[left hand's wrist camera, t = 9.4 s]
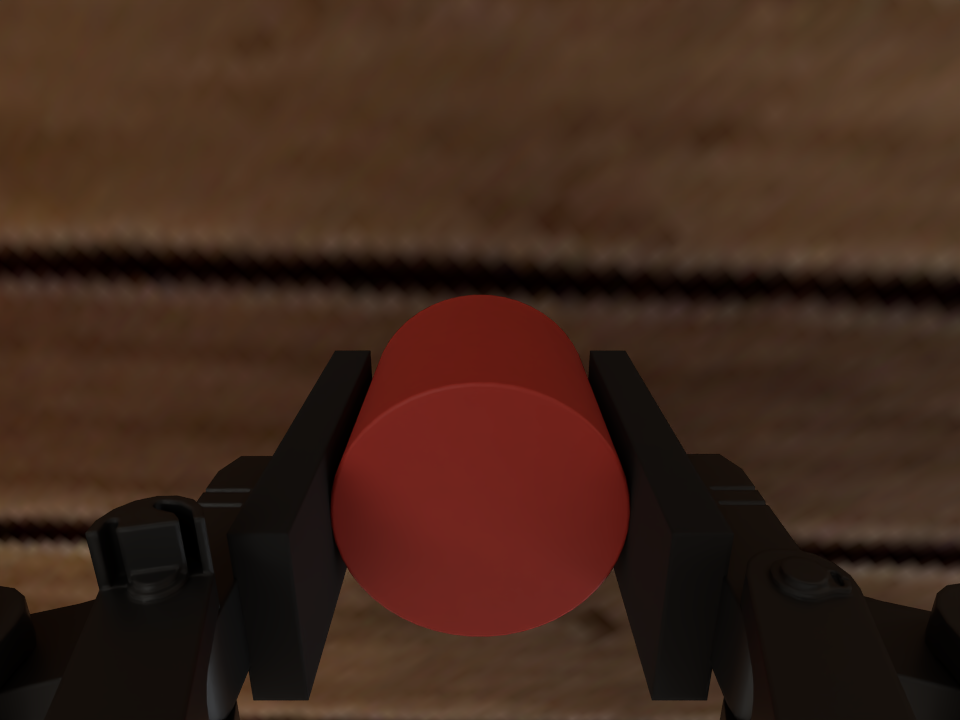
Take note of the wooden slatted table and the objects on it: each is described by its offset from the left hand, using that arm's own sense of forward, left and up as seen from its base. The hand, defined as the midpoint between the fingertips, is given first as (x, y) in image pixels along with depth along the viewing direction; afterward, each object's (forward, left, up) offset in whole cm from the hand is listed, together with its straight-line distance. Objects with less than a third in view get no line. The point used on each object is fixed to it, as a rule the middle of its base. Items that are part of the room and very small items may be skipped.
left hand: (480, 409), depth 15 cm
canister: (0, 0, 0) cm, 0 cm away
